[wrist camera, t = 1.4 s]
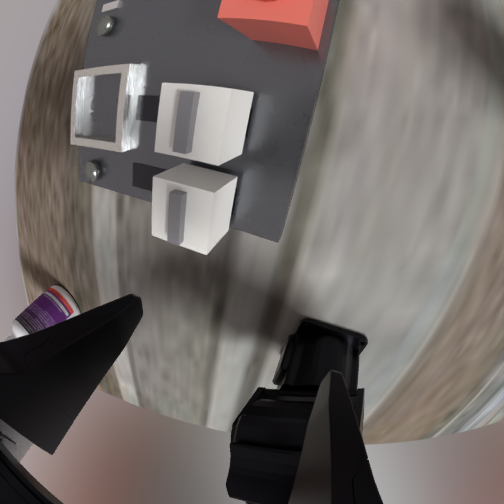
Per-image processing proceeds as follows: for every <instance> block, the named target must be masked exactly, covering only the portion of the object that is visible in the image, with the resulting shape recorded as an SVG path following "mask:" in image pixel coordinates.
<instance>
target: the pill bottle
mask: <svg viewBox="0 0 504 504" xmlns="http://www.w3.org/2000/svg"><path fill="white" fill-rule="evenodd" d="M79 314H81V313H80V310H79V308H78V306H77V304H76V303H75V301H74V300H73V298H72V297H71V296H70V294H69V293H68V292H67V291H66V290H64V289H63V288H62V287H60V286H57V285H53V286H51V287H50V288H48V289H47V290H46V291H45V292H44V293H43V294H42V295H41V296H39V297H38V298H37V299H36V300H35V301H34V302H33V303H32V304H31V305H29V306H28V307H27V308H26V309H25V310H24V311H23V312H22V313H21V314H20V315H19V316H18V317H17V318H16V319H15V320H14V321H13V322H12V325H11V331H12V336H9V337H8V338H7V339H6V340H5V341H7V340H11V339H14V338H18V337H21V336H25V335H28V334H31V333H34V332H37V331H39V330H42V329H45V328H47V327H50V326H52V325H53V326H54V325H55V324H57V323H60V322H62V321H64V320H67V319H69V318H72V317H74V316H77V315H79Z"/></svg>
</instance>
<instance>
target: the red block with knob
mask: <svg viewBox="0 0 504 504" xmlns="http://www.w3.org/2000/svg"><path fill="white" fill-rule="evenodd" d="M328 1H329V0H222V1H221V5H220V9H219V13H218V17H217V18H218V19H220V20H222V21H223V22H225V23H227V24H228V25H230V26H232V27H233V28H235V29H236V30H238V31H239V32H241V33H242V34H244V35H245V36H247V37H248V38H250V39H251V40H257V41H266V42H273V43H280V44H286V45H292V46H297V47H303V48H308V49H312V50H317V51H318V47H319V42H320V38H321V33H322V29H323V24H324V20H325V15H326V11H327V6H328Z"/></svg>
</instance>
